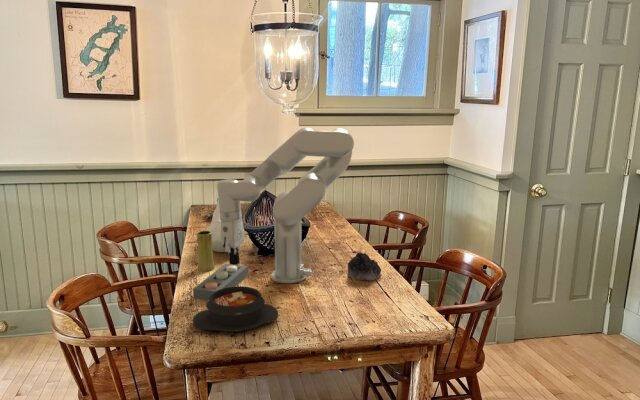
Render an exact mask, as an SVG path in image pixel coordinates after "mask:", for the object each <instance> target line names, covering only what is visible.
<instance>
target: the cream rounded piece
mask: <svg viewBox="0 0 640 400" xmlns="http://www.w3.org/2000/svg"><path fill="white" fill-rule="evenodd" d="M226 271H231V272H236V271H237V266H228V267H226Z"/></svg>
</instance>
